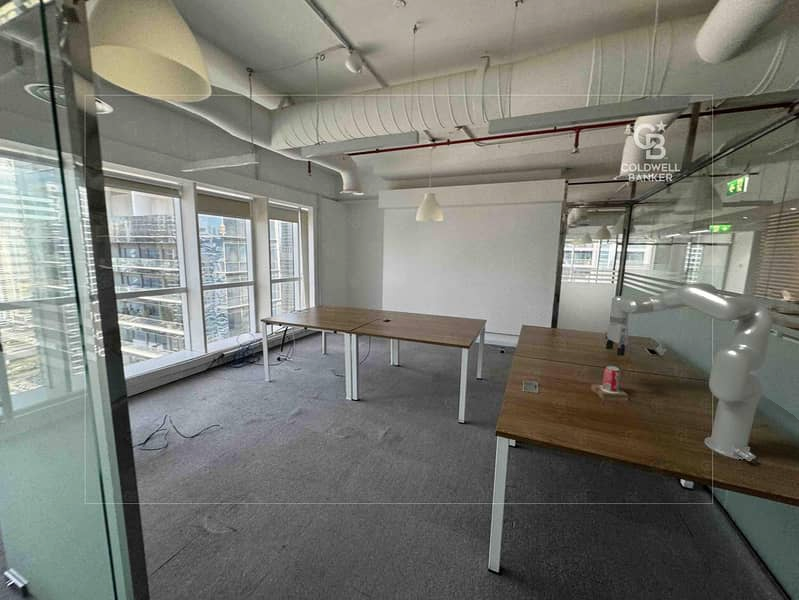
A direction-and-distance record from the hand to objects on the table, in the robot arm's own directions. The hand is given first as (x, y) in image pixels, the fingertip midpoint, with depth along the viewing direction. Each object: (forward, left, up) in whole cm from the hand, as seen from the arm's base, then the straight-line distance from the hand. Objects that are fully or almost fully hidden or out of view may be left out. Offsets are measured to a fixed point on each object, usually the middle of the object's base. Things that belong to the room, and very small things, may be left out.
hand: (614, 352), depth 158 cm
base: (0, 0, -24) cm, 24 cm away
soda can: (0, 0, -21) cm, 21 cm away
